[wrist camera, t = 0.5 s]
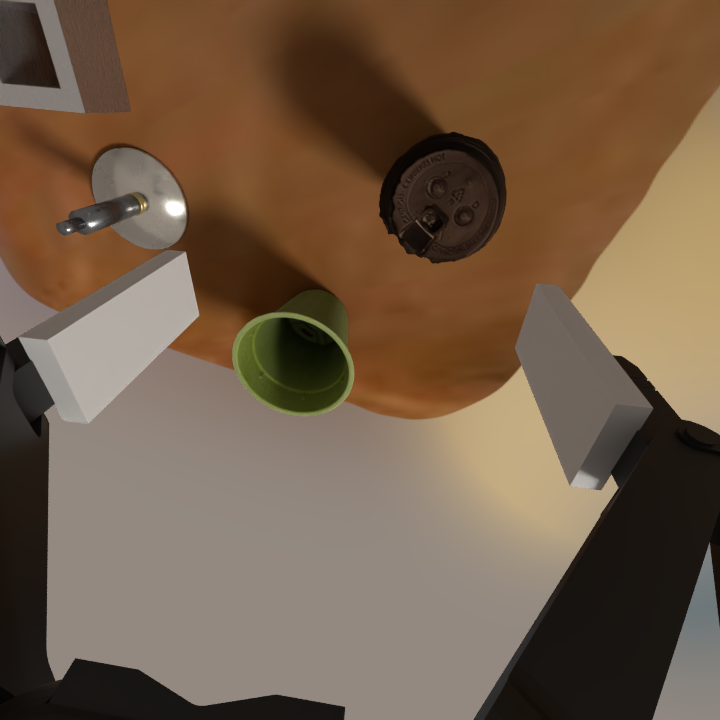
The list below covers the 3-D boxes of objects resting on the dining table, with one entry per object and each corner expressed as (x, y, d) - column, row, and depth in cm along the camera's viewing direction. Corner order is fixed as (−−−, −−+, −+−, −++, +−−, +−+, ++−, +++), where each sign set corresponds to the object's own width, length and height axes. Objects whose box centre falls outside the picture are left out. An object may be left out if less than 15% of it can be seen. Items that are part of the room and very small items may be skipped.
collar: (14, -11, 32) (-61, -33, 27) (105, -4, 31) (46, -25, 26) (51, 104, 36) (-7, 104, 31) (131, 112, 36) (85, 113, 31)
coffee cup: (394, 229, 39) (385, 277, 28) (382, 136, 34) (366, 150, 24) (483, 216, 37) (511, 261, 26) (483, 116, 32) (515, 121, 22)
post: (81, 142, 38) (-25, 154, 29) (178, 152, 37) (101, 167, 28) (111, 243, 43) (30, 279, 34) (195, 252, 43) (136, 292, 34)
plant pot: (374, 278, 42) (362, 327, 33) (359, 364, 49) (345, 426, 39) (269, 258, 42) (228, 301, 33) (268, 347, 49) (233, 404, 39)
